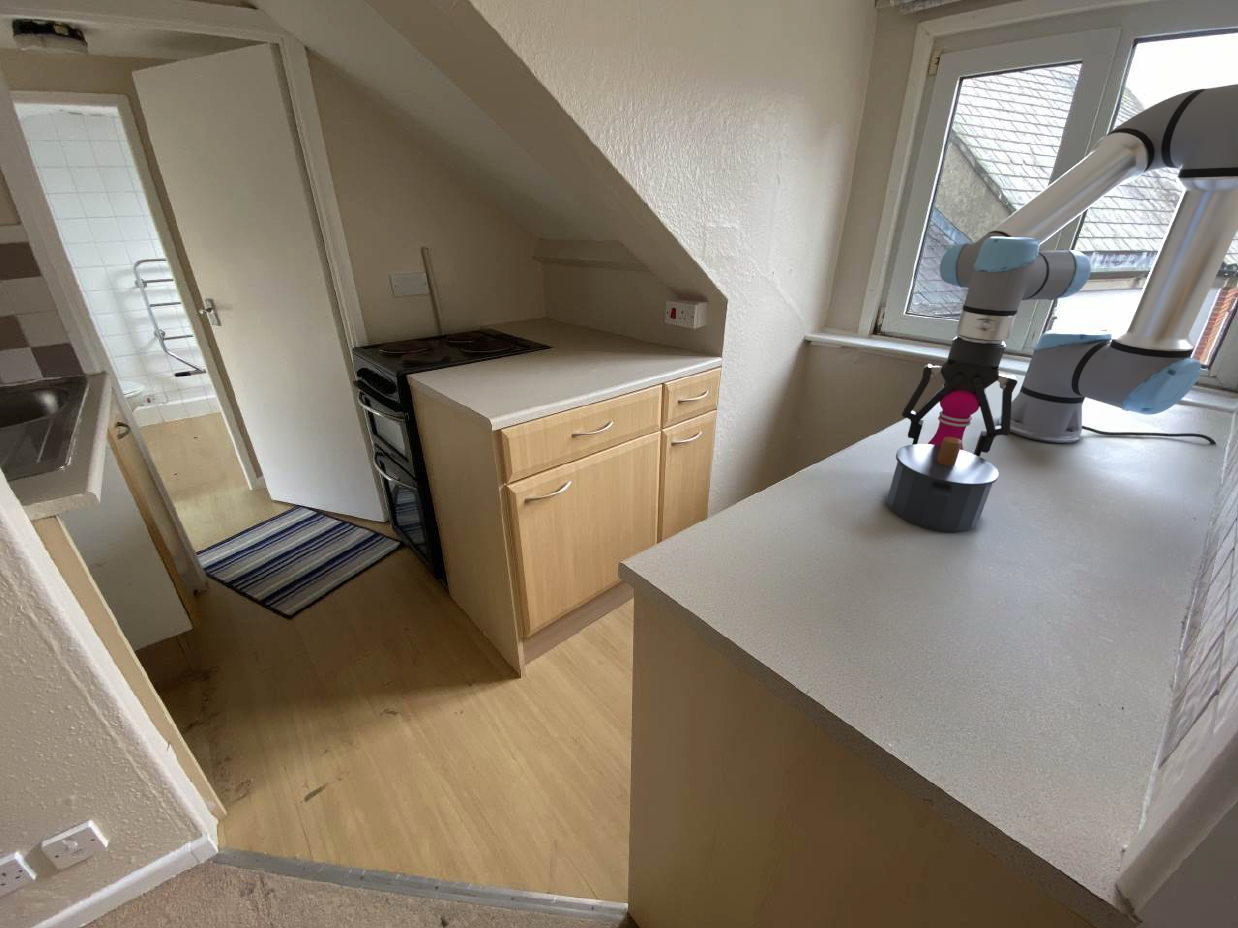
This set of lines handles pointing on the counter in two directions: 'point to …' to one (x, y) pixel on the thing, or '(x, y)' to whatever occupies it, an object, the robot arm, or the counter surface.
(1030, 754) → the counter surface
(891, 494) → the pot
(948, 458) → the pot lid
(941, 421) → the pepper mill
